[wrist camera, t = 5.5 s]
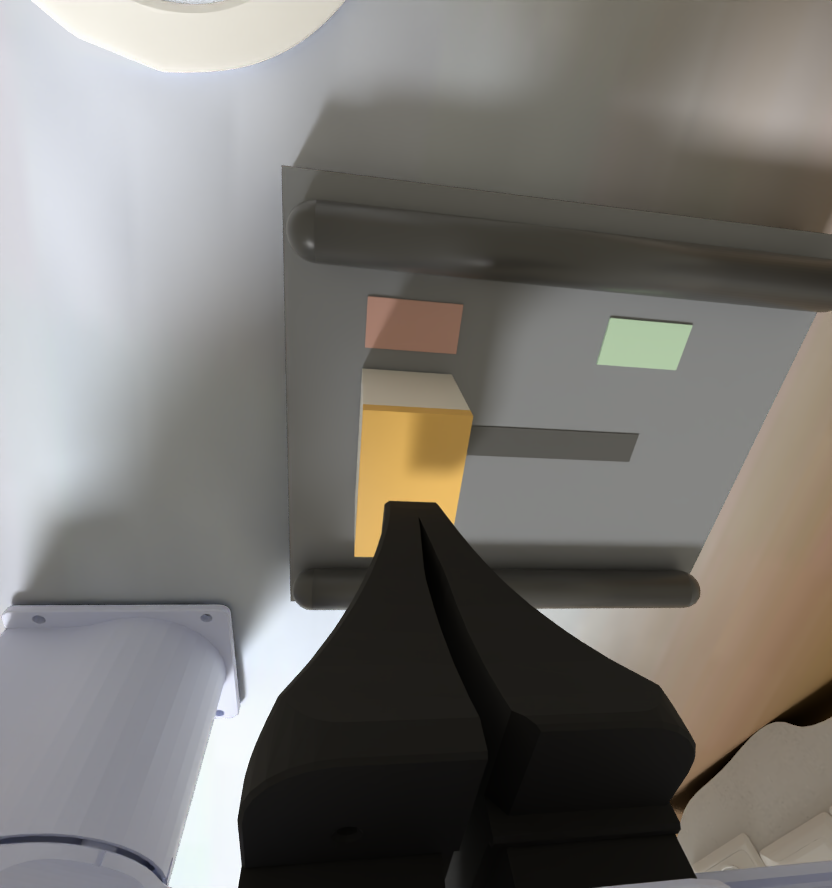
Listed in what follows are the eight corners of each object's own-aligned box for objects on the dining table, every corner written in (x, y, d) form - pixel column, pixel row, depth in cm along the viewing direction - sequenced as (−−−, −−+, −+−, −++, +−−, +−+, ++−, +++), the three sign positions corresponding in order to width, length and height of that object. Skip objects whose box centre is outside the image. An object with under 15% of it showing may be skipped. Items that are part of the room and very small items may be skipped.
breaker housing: (296, 568, 22) (285, 632, 19) (291, 168, 14) (272, 161, 11) (653, 570, 24) (698, 626, 21) (802, 232, 17) (904, 241, 14)
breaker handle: (355, 495, 18) (354, 556, 15) (362, 368, 15) (363, 410, 12) (433, 497, 18) (448, 557, 15) (451, 374, 16) (473, 415, 13)
